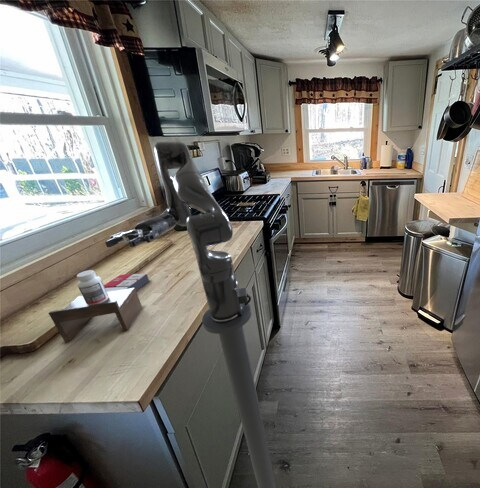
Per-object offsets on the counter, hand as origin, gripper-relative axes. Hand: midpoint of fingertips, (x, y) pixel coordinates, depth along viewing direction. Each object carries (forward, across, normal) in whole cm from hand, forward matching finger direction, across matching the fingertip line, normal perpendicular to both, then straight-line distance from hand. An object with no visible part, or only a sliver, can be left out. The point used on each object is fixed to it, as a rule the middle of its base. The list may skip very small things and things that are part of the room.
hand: (118, 244), depth 85 cm
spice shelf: (+13, -1, +21) cm, 25 cm away
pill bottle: (+13, -1, +14) cm, 19 cm away
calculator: (-4, -10, +22) cm, 24 cm away
